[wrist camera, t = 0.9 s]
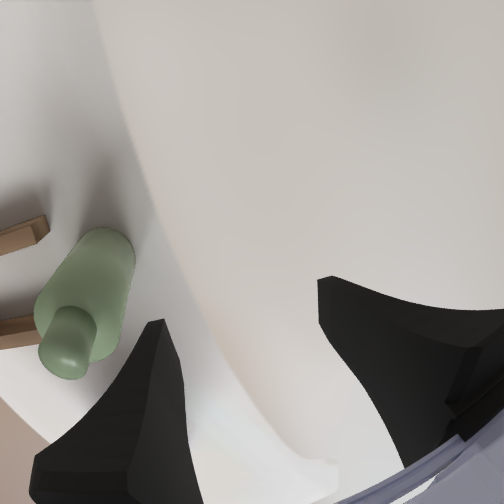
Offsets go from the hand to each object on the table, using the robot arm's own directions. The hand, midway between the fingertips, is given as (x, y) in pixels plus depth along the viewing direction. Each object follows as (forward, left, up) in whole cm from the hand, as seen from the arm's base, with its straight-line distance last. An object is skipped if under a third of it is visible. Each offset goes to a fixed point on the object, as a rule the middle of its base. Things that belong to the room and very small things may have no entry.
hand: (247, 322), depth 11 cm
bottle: (0, +8, -10) cm, 13 cm away
